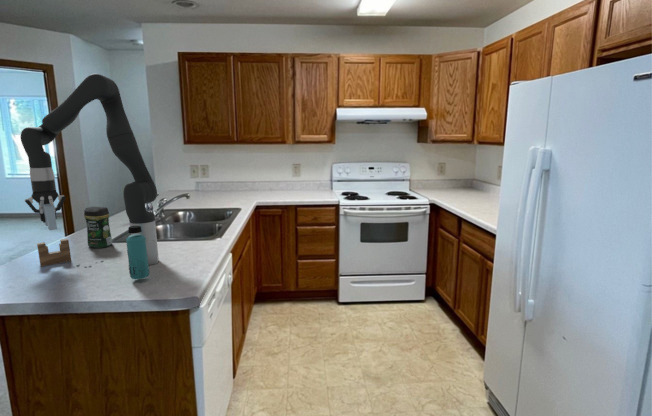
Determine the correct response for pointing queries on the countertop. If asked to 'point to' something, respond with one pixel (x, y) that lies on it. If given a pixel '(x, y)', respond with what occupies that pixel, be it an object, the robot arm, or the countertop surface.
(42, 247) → the notched wooden block
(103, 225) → the coffee jar
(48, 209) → the pale grey upright slab
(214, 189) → the countertop surface
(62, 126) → the robot arm
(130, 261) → the beverage bottle
